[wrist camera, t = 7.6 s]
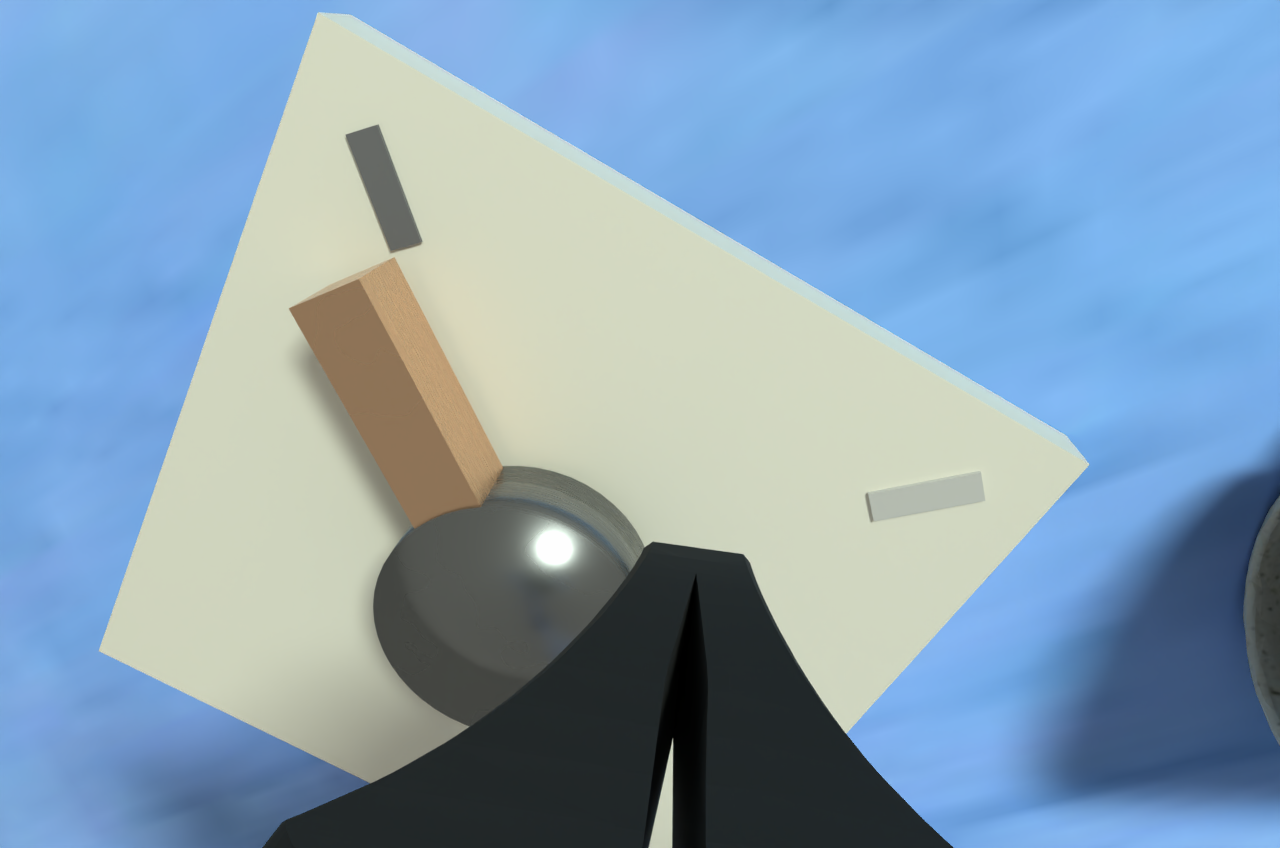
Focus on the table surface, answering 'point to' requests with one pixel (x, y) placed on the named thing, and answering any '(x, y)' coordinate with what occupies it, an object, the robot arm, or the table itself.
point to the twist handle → (460, 510)
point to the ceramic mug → (1265, 617)
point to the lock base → (547, 416)
